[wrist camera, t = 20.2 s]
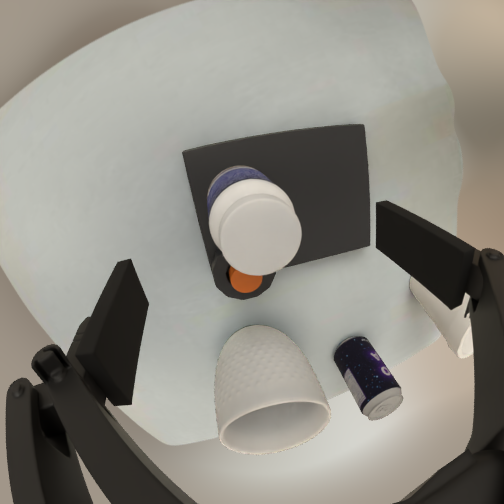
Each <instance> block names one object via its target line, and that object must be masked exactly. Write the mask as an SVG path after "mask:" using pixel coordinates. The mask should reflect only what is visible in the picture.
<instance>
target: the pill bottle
mask: <svg viewBox="0 0 504 504" xmlns="http://www.w3.org/2000/svg"><path fill="white" fill-rule="evenodd" d="M207 207H208V219H209V228H210V233H211V236H212V238H213V240H214V242H215V244H216V245H217V247H218V248H219V249H220V250H221V251H222V253H223V256H224V257H225V259H226V261H227V262H228V263H229V264H230V265H231V266H232V267H233V268H235V269H236V270H238V271H240V272H242V273H245V274H248V275H256V276H261V275H267V274H271V273H274V272H276V271H278V270H280V269H282V268H283V267H284V266H286V265H287V264H288V263H289V262H290V261H291V260H292V259H293V257H294V256H295V254H296V253H297V251H298V249H299V246H300V242H301V236H302V231H301V225H300V222H299V219H298V217H297V216H296V214H295V211H294V207H293V204H292V202H291V200H290V199H289V197H288V196H287V194H286V193H285V192H284V191H283V190H282V189H281V188H279V187H278V186H277V185H276V184H274V183H273V182H272V181H271V180H269V179H268V178H267V177H266V176H265V175H264V174H262V173H261V172H260V171H258V170H256V169H254V168H252V167H248V166H234V167H230V168H228V169H225V170H224V171H222V172H221V173H219V174H218V175H217V176H216V177H215V178H214V180H213V181H212V183H211V185H210V187H209V190H208V194H207Z"/></svg>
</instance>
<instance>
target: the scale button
mask: <svg viewBox="0 0 504 504" xmlns="http://www.w3.org/2000/svg"><path fill="white" fill-rule="evenodd" d="M229 275H230V280H231V284H232V286H233V288H234V289H236V290H237V291H239V292H242V293H248V292H252V291H254V290H256V289H257V288H258V287H259V286H260V284H261V282H262V275H261V276H256V275H248V274H245V273H242V272H240V271H238V270H236V269H235V268H233V267H232V266H231V267H230V269H229Z"/></svg>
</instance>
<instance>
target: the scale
mask: <svg viewBox="0 0 504 504" xmlns="http://www.w3.org/2000/svg"><path fill="white" fill-rule="evenodd" d="M182 154H183V158H184V162H185V167H186V171H187V176H188V180H189V184H190V188H191V192H192V197H193V201H194V205H195V209H196V213H197V217H198V221H199V225H200V229H201V233H202V236H203V240H204V244H205V248H206V252H207V255H208V259H209V263H210V266H211V270H212V274H213V277H214V281H215V285H216V287H217V288H218V289H219V290H220V291H222V292H223V293H224V294H225V295H226V296H228V297H231V298H236V299H241V300H245V299H249V298H253V297H257V296H259V295H260V294H262V293H263V292H264V291H265V290H267V289H268V288H269V287H270V286H271V283H272V281H273V279H274V276H275V274H276V272H274V273H271V274H267V275H262V282H261V284H260V286H259V287H258V288H257V289H256V290H254V291H252V292H248V293H242V292H239V291H237V290H236V289H234V288H233V286H232V284H231V280H230V275H229V269H230V267H231V265H230V264H229V263H228V262H227V261H226V259H225V257H224V256H223V253H222V251H221V250H220V249H219V248H218V247H217V245H216V244H215V242H214V240H213V238H212V236H211V233H210V228H209V219H208V207H207V194H208V190H209V187H210V185H211V183H212V181H213V180H214V178H215V177H216V176H217V175H218V174H219V173H221V172H222V171H224V170H225V169H228V168H230V167H234V166H248V167H252V168H254V169H256V170H258V171H260V172H261V173H262V174H264V175H265V176H266V177H267V178H268V179H269V180H271V181H272V182H273V183H274V184H276V185H277V186H278V187H279V188H281V189H282V190H283V191H284V192H285V193H286V194H287V196H288V197H289V199H290V200H291V202H292V204H293V207H294V211H295V214H296V216H297V217H298V219H299V222H300V225H301V231H302V236H301V242H300V246H299V249H298V251H297V253H296V254H295V256H294V257H293V259H292V260H291V261H290V262H289V263H288V264H287V265H286V266H284V267H283V268H285V267H289V266H293V265H297V264H301V263H305V262H309V261H313V260H317V259H321V258H325V257H329V256H333V255H337V254H340V253H344V252H348V251H352V250H356V249H360V248H363V247H367V246H370V193H369V173H368V159H367V147H366V137H365V128H364V124H349V125H335V126H324V127H314V128H305V129H297V130H289V131H282V132H275V133H269V134H262V135H256V136H251V137H245V138H239V139H234V140H229V141H224V142H219V143H215V144H210V145H205V146H201V147H197V148H193V149H188V150H184V151H183V152H182Z"/></svg>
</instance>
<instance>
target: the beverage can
mask: <svg viewBox="0 0 504 504" xmlns="http://www.w3.org/2000/svg"><path fill="white" fill-rule="evenodd" d="M334 361H335V363H336V365H337V367H338V369H339V371H340V372H341V374H342V376H343V378H344V380H345V382H346V384H347V386H348V387H349V389H350V391H351V393H352V395H353V397H354V399H355V401H356V403H357V404H358V406H359V408H360V410H361V412H362V414H364V415H366V416H368V418H369V420H378V419H381V418H383V417H385V416H387V415H389V414H390V413H392V412H393V411H394V410H395V409H396V408H398V407H399V406H400V404H401V403H402V401H403V396H402V395H401V387H400V386H399V385H398V383H397V382H396V380H395V379H394V377H393V376H392V374H391V373H390V371H389V370H388V368H387V367H386V365H385V364H384V362H383V361H382V360H381V358H380V357H379V355H378V354H377V352H376V351H375V349H374V348H373V347H372V345H371V344H370V342H369V341H368V340H367V338H365V337H350V338H348V339H346V340H344V341H343V342H342V343H341V344H340V345H339V346H338V348H337V350H336V352H335V354H334Z"/></svg>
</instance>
